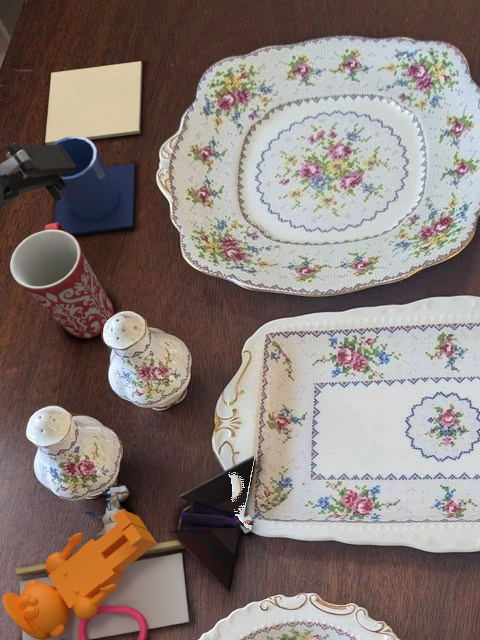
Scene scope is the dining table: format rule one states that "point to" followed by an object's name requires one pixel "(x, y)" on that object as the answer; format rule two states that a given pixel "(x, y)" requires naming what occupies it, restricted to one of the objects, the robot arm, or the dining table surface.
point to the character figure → (215, 523)
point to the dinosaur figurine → (111, 506)
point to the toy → (79, 578)
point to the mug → (62, 281)
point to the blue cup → (87, 180)
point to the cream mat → (95, 102)
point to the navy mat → (114, 220)
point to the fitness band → (116, 609)
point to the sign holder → (132, 596)
